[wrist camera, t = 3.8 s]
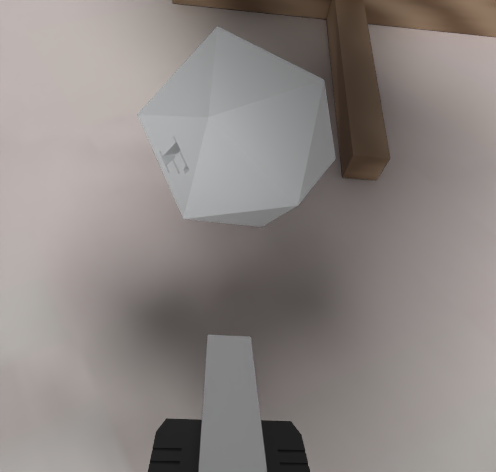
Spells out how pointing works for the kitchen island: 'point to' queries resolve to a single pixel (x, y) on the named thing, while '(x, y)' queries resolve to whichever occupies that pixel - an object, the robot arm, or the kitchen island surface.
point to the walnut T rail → (367, 58)
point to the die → (239, 132)
